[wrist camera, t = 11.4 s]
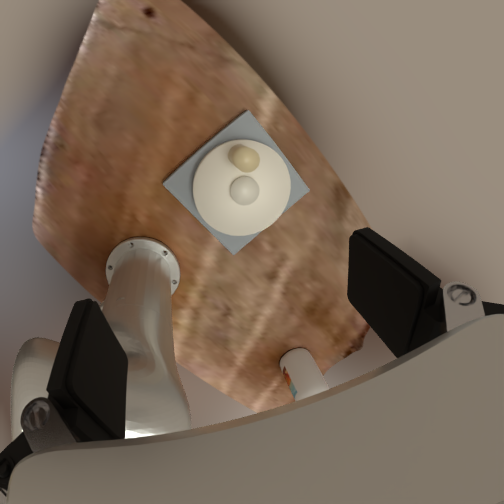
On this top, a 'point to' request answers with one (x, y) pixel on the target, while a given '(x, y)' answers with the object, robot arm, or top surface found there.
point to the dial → (241, 187)
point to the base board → (237, 129)
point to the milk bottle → (302, 374)
